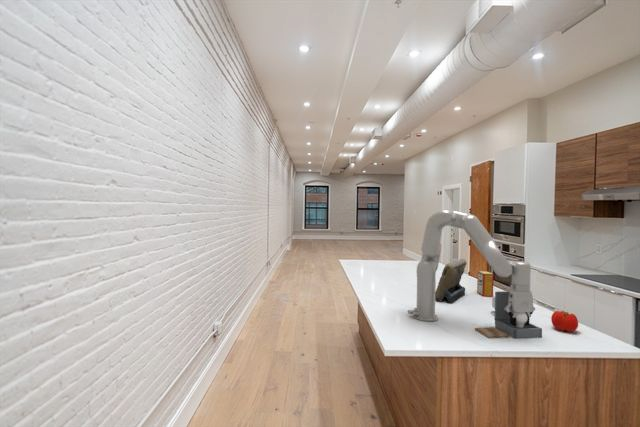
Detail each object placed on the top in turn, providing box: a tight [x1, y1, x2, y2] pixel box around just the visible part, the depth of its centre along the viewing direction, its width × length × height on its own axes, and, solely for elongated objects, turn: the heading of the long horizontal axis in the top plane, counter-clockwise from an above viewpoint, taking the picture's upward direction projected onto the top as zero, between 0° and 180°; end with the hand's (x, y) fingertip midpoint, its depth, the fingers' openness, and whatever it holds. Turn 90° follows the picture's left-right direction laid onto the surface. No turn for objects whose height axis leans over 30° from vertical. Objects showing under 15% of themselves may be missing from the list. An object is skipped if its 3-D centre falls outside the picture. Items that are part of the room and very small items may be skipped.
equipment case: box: [494, 290, 543, 339], centre depth 151 cm, size 14×14×18 cm
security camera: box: [490, 295, 495, 317], centre depth 176 cm, size 6×7×10 cm
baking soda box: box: [476, 270, 495, 298], centre depth 217 cm, size 10×6×16 cm
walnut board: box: [474, 326, 509, 339], centre depth 149 cm, size 10×10×1 cm
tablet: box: [435, 258, 467, 304], centre depth 210 cm, size 33×14×25 cm, turn 145°
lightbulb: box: [512, 312, 528, 329], centre depth 150 cm, size 6×6×11 cm
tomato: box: [550, 310, 579, 333], centre depth 155 cm, size 11×11×9 cm
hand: (519, 324), depth 150 cm, fingers closed on lightbulb, 6 cm apart
